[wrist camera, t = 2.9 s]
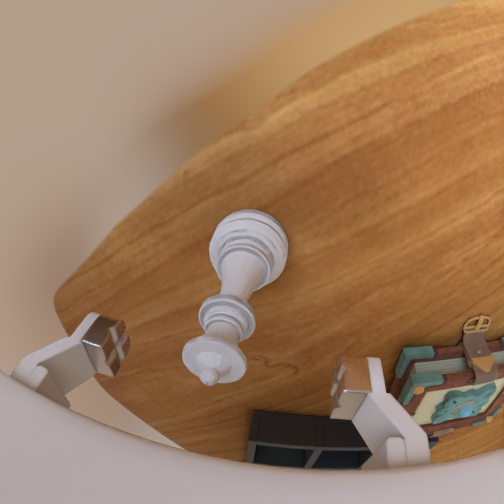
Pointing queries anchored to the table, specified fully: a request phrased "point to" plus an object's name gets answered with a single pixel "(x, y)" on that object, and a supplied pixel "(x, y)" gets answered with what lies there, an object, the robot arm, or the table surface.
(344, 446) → the grid
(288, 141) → the table surface
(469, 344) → the decorative book
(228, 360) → the chess piece
